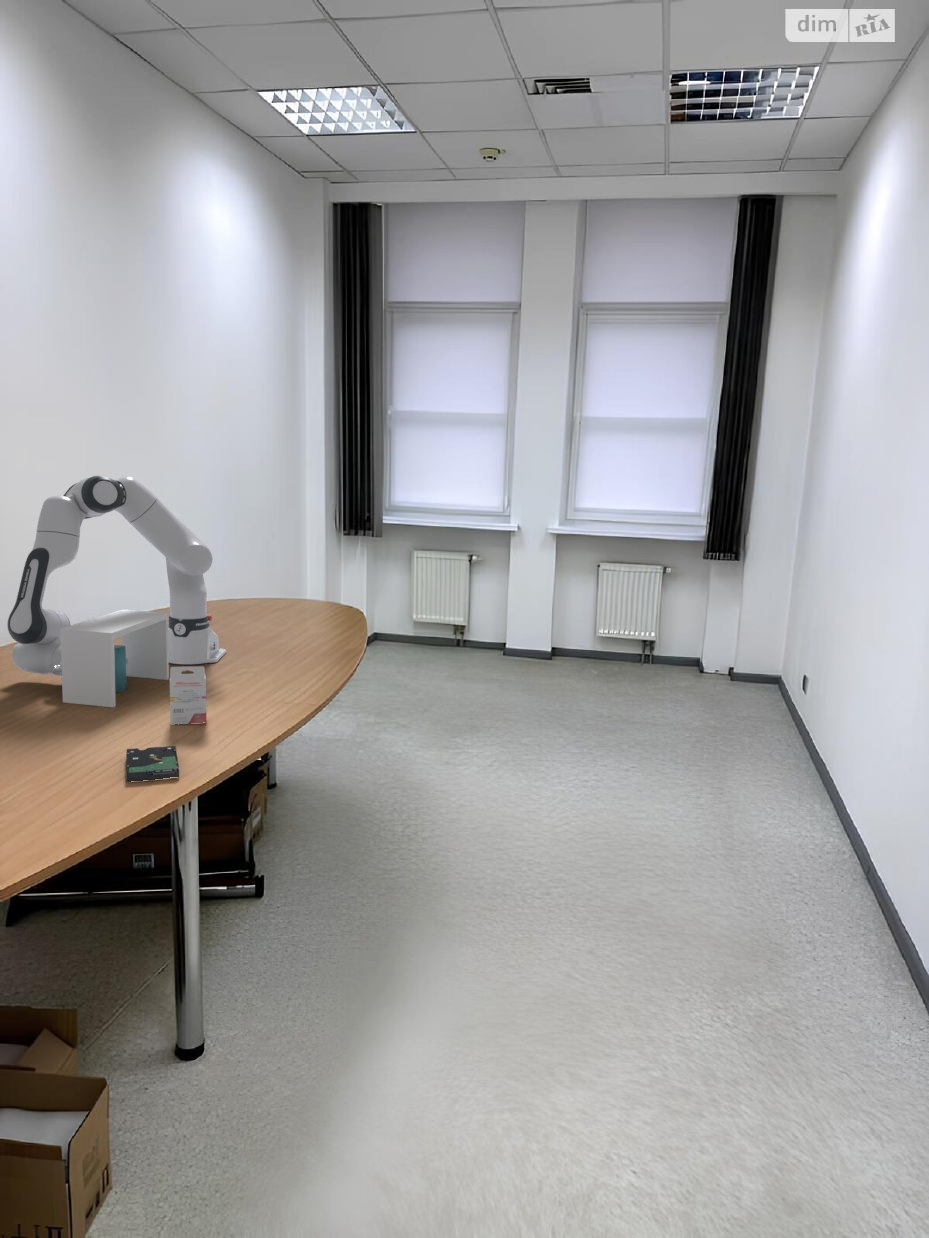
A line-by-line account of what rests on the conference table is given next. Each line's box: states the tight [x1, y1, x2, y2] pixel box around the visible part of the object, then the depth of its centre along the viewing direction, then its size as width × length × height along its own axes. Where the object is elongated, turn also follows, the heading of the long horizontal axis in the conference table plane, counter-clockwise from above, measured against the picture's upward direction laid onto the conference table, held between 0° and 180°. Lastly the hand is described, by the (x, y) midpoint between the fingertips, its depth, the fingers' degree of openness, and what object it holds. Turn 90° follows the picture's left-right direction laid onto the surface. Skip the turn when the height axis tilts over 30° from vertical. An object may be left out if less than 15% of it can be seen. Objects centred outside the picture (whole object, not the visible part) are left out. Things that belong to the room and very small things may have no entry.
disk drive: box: [125, 745, 180, 783], centre depth 181 cm, size 10×3×15 cm
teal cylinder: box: [114, 644, 127, 693], centre depth 235 cm, size 6×6×12 cm
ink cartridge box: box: [169, 665, 207, 726], centre depth 211 cm, size 9×5×15 cm, turn 105°
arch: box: [60, 608, 170, 708], centre depth 234 cm, size 30×14×20 cm, turn 172°
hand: (118, 665), depth 235 cm, fingers open, 8 cm apart
